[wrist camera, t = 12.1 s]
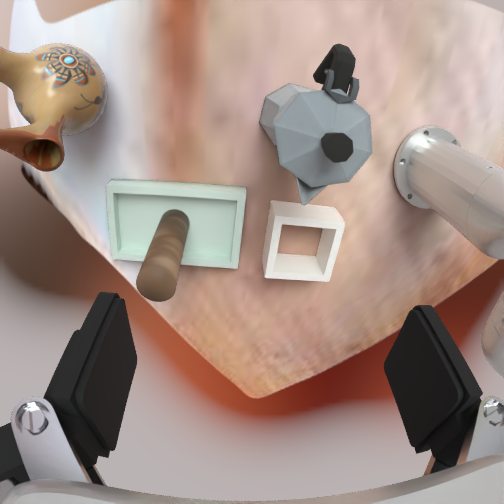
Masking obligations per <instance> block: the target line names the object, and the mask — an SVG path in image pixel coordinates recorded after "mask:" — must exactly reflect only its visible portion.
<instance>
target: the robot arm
mask: <svg viewBox="0 0 504 504" xmlns="http://www.w3.org/2000/svg"><path fill="white" fill-rule="evenodd" d="M400 160H401V161H400ZM394 179H395V183H396V186H397V188H398V191H399V192H400V194H401V195H402V197H403V198H404V199H405V200H407V201H408V202H409V203H410V204H412V205H413V206H416V207H418V208H423V209H428V208H432V209H434V210H435V211H436V212H437V213H438V214H440V215H441V216H442V217H443V218H444V219H445V220H446V221H448V222H449V223H450V224H451V225H452V226H453V227H454V228H456V229H457V230H458V231H459V232H460V233H461V234H462V235H463V236H464V237H466V238H467V239H468V240H469V241H470V242H471V243H472V244H473V245H474V246H475V247H476V248H478V249H479V250H480V251H481V252H482V253H484V254H485V255H487V256H489V257H492V258H496V259H504V169H503V168H502V167H500V166H498V165H496V164H494V163H492V162H490V161H488V160H486V159H484V158H482V157H480V156H478V155H476V154H474V153H472V152H470V151H468V150H466V149H464V148H461V145H460V143H459V141H458V140H457V139H456V137H455V136H454V135H453V134H452V133H451V132H449V131H448V130H446V129H444V128H441V127H438V126H431V125H430V126H423V127H421V128H418V129H416V130H415V131H413V132H411V133H410V134H409V135H408V136H407V137H406V138H405V139H404V141H403V142H402V144H401V145H400V147H399V149H398V152H397V154H396V158H395V162H394ZM481 344H482V349H483V353H484V355H485V357H486V359H487V361H488V362H489V364H490V365H491V366H492V367H493V368H494V370H496V371H497V372H498V373H499V374H500V375H501V376H502V377H503V378H504V290H503V292H502V294H501V296H500V298H499V300H498V301H497V304H496V305H495V307H494V309H493V311H492V313H491V314H490V316H489V318H488V320H487V322H486V324H485V327H484V329H483V333H482V339H481ZM136 365H137V354H136V350H135V346H134V342H133V337H132V333H131V329H130V324H129V320H128V315H127V310H126V306H125V301H124V299H122V298H120V297H119V295H118V294H117V293H107V292H100V293H99V294H98V296H97V298H96V300H95V302H94V304H93V305H92V307H91V309H90V312H89V313H88V315H87V317H86V319H85V321H84V323H83V325H82V327H81V329H80V330H76V331H75V332H74V333H73V335H72V337H71V339H70V341H69V343H68V345H67V347H66V349H65V351H64V353H63V355H62V358H61V359H60V362H59V364H58V366H57V368H56V370H55V372H54V375H53V377H52V379H51V382H50V384H49V386H48V388H47V391H46V393H45V395H44V398H40V397H29V398H25V399H23V400H22V401H20V402H19V403H18V404H17V405H16V406H15V407H14V409H13V411H12V414H11V422H10V423H8V424H6V425H4V426H2V427H0V504H504V402H503V400H501V399H499V398H498V397H495V396H488V397H485V398H484V399H483V400H482V401H481V399H480V396H481V395H482V394H483V393H482V391H481V389H480V387H479V385H478V383H477V381H476V379H475V377H474V376H473V374H472V372H471V370H470V368H469V366H468V365H467V363H466V361H465V359H464V358H463V356H462V354H461V352H460V351H459V349H458V347H457V346H456V344H455V342H454V341H453V339H452V337H451V335H450V334H449V332H448V331H447V329H446V327H445V326H444V324H443V322H442V321H441V319H440V318H439V316H438V315H437V313H436V312H435V310H434V308H433V307H432V306H430V305H417V306H415V307H414V308H413V310H411V311H410V312H409V313H408V316H407V318H406V320H405V322H404V324H403V326H402V328H401V330H400V333H399V335H398V337H397V339H396V341H395V343H394V345H393V347H392V349H391V351H390V352H389V354H388V356H387V358H386V360H385V363H384V370H385V373H386V376H387V379H388V381H389V384H390V387H391V389H392V392H393V395H394V398H395V400H396V403H397V406H398V409H399V412H400V415H401V418H402V420H403V423H404V426H405V429H406V432H407V436H408V439H409V442H410V444H411V446H413V447H415V451H416V453H421V452H424V451H428V450H430V449H431V452H432V456H431V458H430V461H429V463H428V466H427V468H426V471H425V473H424V475H423V476H422V477H419V478H416V479H412V480H408V481H405V482H401V483H397V484H392V485H388V486H383V487H379V488H374V489H369V490H364V491H358V492H352V493H347V494H340V495H333V496H325V497H316V498H307V499H295V500H278V501H218V500H201V499H189V498H179V497H171V496H162V495H155V494H148V493H141V492H135V491H129V490H124V489H119V488H114V487H108V486H107V485H106V484H105V482H104V480H103V479H102V477H101V475H100V474H99V472H98V470H97V468H96V467H95V464H96V463H97V458H98V456H103V457H107V458H108V457H109V452H110V450H111V451H113V450H115V448H116V444H117V440H118V435H119V431H120V427H121V423H122V419H123V415H124V411H125V406H126V403H127V399H128V394H129V391H130V387H131V384H132V380H133V376H134V373H135V369H136Z"/></svg>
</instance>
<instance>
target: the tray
mask: <svg viewBox="0 0 504 504" xmlns="http://www.w3.org/2000/svg"><path fill="white" fill-rule="evenodd" d="M106 199H107V213H108V225H109V235H110V245H111V253H112V259H120V260H131V261H144V259H145V256H146V254H147V251H148V249H149V246H150V244H151V241H152V239H153V236H154V234H155V231H156V229H157V227H158V224H159V222H160V219H161V217H162V215H163V214H164V213H165V212H166V211H168V210H172V209H177V210H180V211H182V212H184V213H185V214H186V215H187V216H188V218H189V222H190V225H189V230H188V234H187V238H186V243H185V247H184V252H183V256H182V261H181V265H193V266H207V267H220V268H234V269H238V261H239V252H240V244H241V235H242V227H243V218H244V210H245V201H246V187H239V186H227V185H215V184H201V183H186V182H170V181H150V180H124V179H112V180H111V181H110V182H109V183H108V184H107V185H106Z"/></svg>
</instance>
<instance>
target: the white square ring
mask: <svg viewBox="0 0 504 504" xmlns="http://www.w3.org/2000/svg"><path fill="white" fill-rule="evenodd" d="M282 224H287V225H297V226H308V227H318V228H323V229H322V234H321V238H320V242H319V246H318V250H317V254H316V256H309V255H295V254H282V253H277V250H278V244H279V239H280V233H281V228H282ZM344 227H345V221H344V220H343V219H342V217H341V216H340V214H339V213H338V211H337V210H336V209H335V207H328V206H320V205H311V204H306V205H305V206H304V205H301V203H293V202H284V201H274V200H271V202H270V208H269V215H268V221H267V228H266V234H265V240H264V247H263V253H262V263H263V270H264V276H265V278H273V279H290V280H307V281H326V282H329V280H330V277H331V273H332V270H333V266H334V263H335V260H336V256H337V253H338V249H339V245H340V242H341V238H342V235H343V231H344Z"/></svg>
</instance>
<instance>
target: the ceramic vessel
mask: <svg viewBox="0 0 504 504" xmlns="http://www.w3.org/2000/svg"><path fill="white" fill-rule="evenodd" d="M0 82H2V83H4V84H5V85H7V86H8V87H9V88H10V89H11V90H12V91H13V95H14V99H15V103H16V105H17V107H18V109H19V111H20V113H21V114H22V116H23V117H24V118H25V119H26V120H27V121H28V122H29V123H30V124H31V125H28V126H24V127H17V128H7V129H0V149H2V150H4V151H7V152H9V153H11V154H13V155H14V156H16V157H18V158H19V159H21V160H23V161H25V162H27V163H29V164H31V165H32V166H33V167H35V168H36V169H38V170H41V171H46V172H47V171H53V170H55V169H57V168H58V167H59V166H60V165H61V164H62V162H63V160H64V146H63V141H62V136H69V135H75V134H78V133H81V132H83V131H85V130H87V129H89V128H90V127H91V126H93V125H94V124H95V123H96V122H97V121H98V120H99V118H100V117H101V115H102V114H103V112H104V109H105V107H106V103H107V97H108V89H107V82H106V79H105V76H104V73H103V71H102V69H101V68H100V66H99V65H98V63H97V62H96V61H95V60H94V59H93V58H92V57H91V56H90V55H89V54H88V53H86V52H85V51H83V50H82V49H80V48H78V47H75V46H72V45H69V44H62V43H54V44H48V45H44V46H41V47H39V48H37V49H35V50H33V51H32V52H30V53H16V52H11V51H8V50H6V49H4V48H2V47H0Z"/></svg>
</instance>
